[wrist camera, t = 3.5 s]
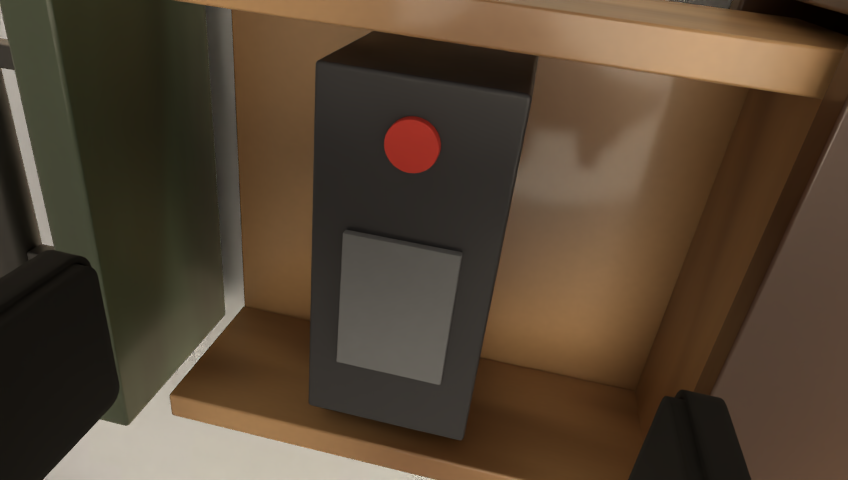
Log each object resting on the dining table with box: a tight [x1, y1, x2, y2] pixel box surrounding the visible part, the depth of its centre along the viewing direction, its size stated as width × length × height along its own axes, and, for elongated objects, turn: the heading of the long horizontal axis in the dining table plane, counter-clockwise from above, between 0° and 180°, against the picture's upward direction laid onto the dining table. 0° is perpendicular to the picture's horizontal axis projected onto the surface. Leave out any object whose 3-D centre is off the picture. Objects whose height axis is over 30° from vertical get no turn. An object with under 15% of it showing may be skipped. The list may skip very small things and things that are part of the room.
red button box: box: [308, 31, 539, 440], centre depth 15 cm, size 4×9×5 cm, turn 174°
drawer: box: [0, 0, 848, 480], centre depth 16 cm, size 21×13×6 cm, turn 84°
